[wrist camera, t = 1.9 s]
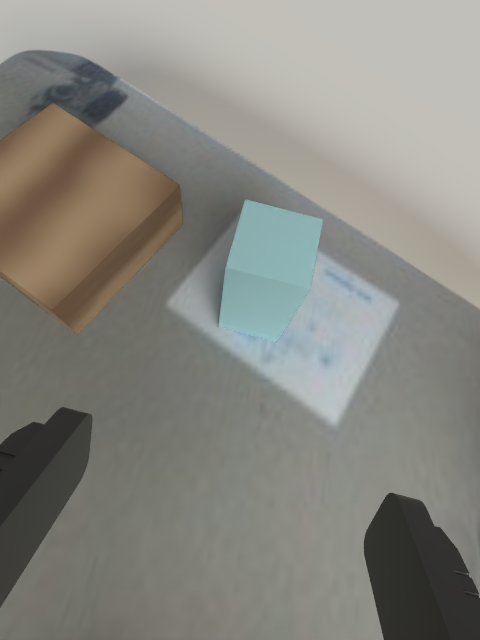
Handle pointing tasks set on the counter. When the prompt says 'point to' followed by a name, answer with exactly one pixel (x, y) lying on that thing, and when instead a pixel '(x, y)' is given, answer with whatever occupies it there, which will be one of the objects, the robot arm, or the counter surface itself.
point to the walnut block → (78, 215)
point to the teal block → (268, 270)
